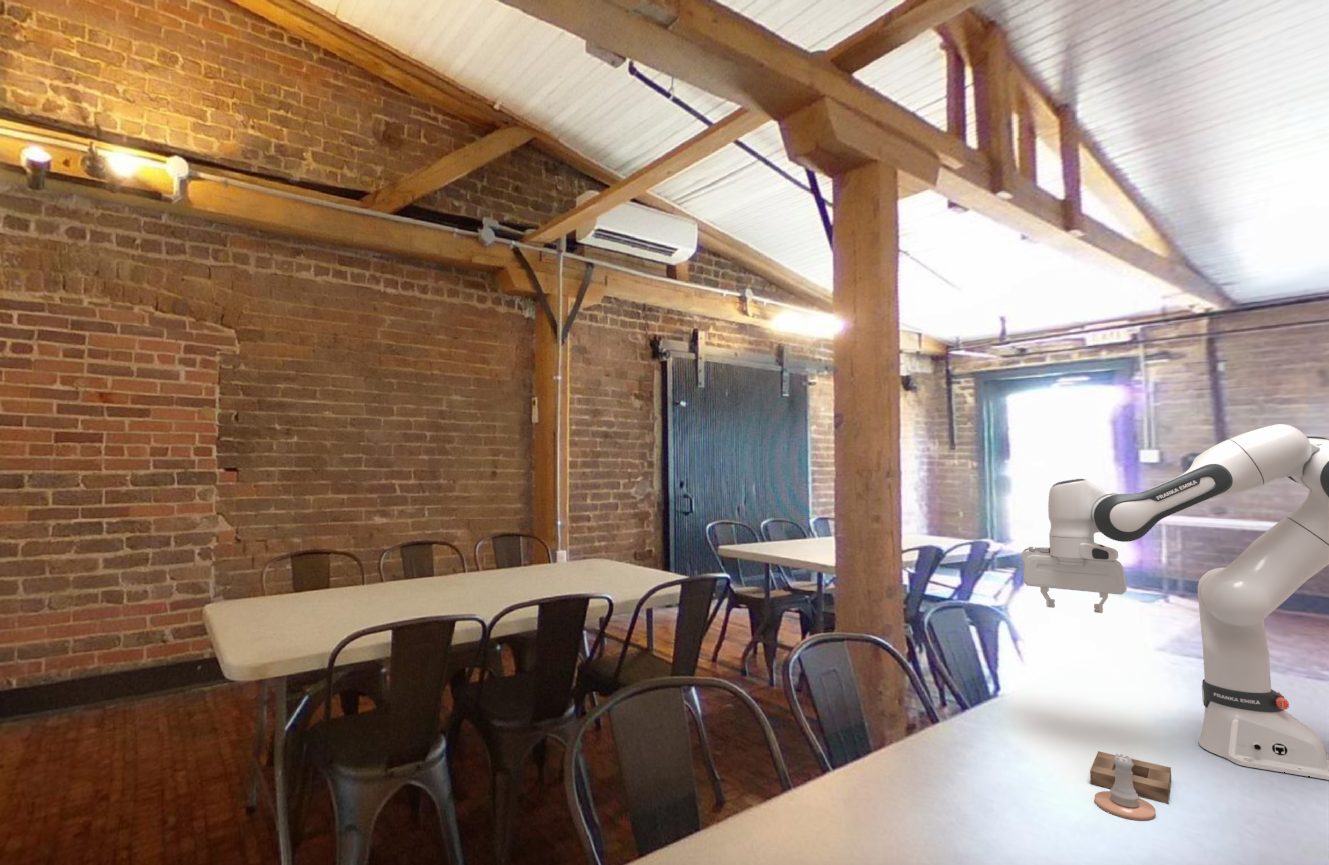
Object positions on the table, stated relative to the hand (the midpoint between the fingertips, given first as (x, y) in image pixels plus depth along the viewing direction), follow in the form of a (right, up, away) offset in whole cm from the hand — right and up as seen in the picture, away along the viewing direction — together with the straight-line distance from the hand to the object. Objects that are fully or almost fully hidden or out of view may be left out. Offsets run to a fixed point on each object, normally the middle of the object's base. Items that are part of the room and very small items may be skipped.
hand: (1074, 609), depth 151 cm
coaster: (-11, -27, -33) cm, 44 cm away
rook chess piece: (-11, -26, -33) cm, 43 cm away
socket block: (-3, -28, -23) cm, 36 cm away
